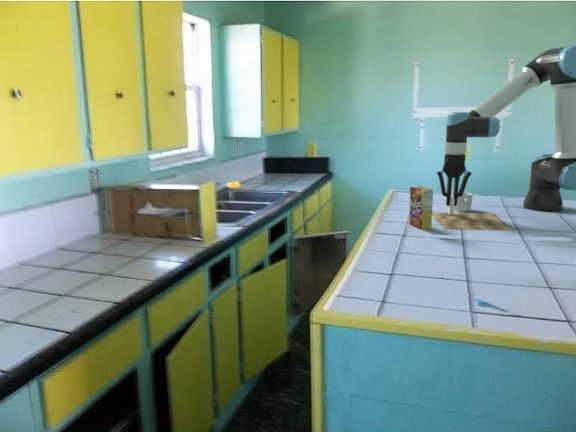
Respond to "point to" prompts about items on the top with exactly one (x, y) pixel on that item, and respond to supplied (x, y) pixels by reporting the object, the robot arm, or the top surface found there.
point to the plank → (466, 216)
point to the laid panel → (474, 224)
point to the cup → (464, 202)
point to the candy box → (420, 207)
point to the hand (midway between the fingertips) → (450, 213)
